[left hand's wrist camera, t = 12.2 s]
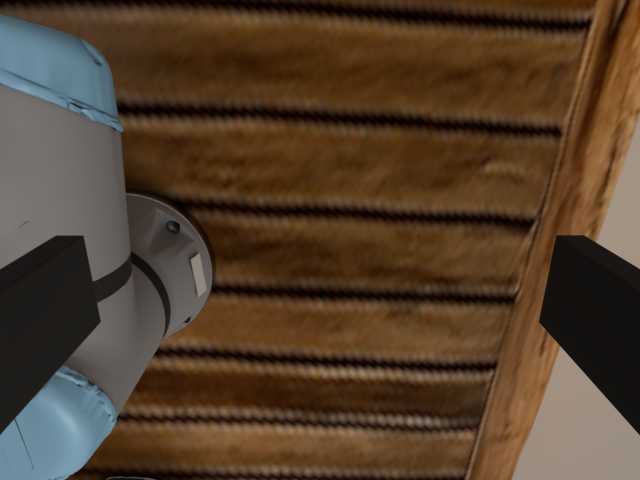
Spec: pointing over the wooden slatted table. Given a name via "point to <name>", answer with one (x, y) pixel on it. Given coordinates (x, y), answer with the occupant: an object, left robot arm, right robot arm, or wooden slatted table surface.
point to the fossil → (128, 478)
